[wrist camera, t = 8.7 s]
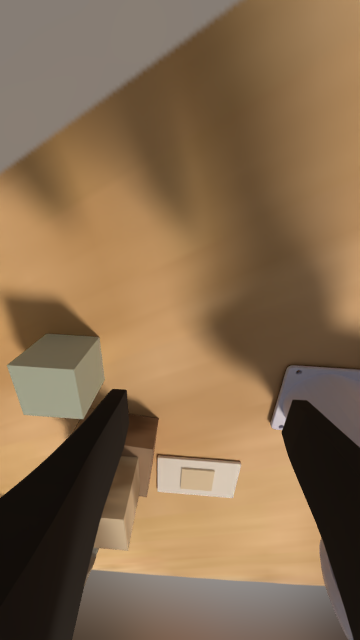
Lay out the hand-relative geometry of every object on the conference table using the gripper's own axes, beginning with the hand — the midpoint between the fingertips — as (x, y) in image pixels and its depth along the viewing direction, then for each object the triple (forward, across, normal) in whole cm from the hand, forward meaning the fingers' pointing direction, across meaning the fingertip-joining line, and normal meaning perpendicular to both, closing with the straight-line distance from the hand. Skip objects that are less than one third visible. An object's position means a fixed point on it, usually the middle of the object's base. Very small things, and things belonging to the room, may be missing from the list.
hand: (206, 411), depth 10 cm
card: (+10, -2, +22) cm, 25 cm away
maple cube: (+7, +8, +16) cm, 19 cm away
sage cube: (+11, +12, +5) cm, 17 cm away
